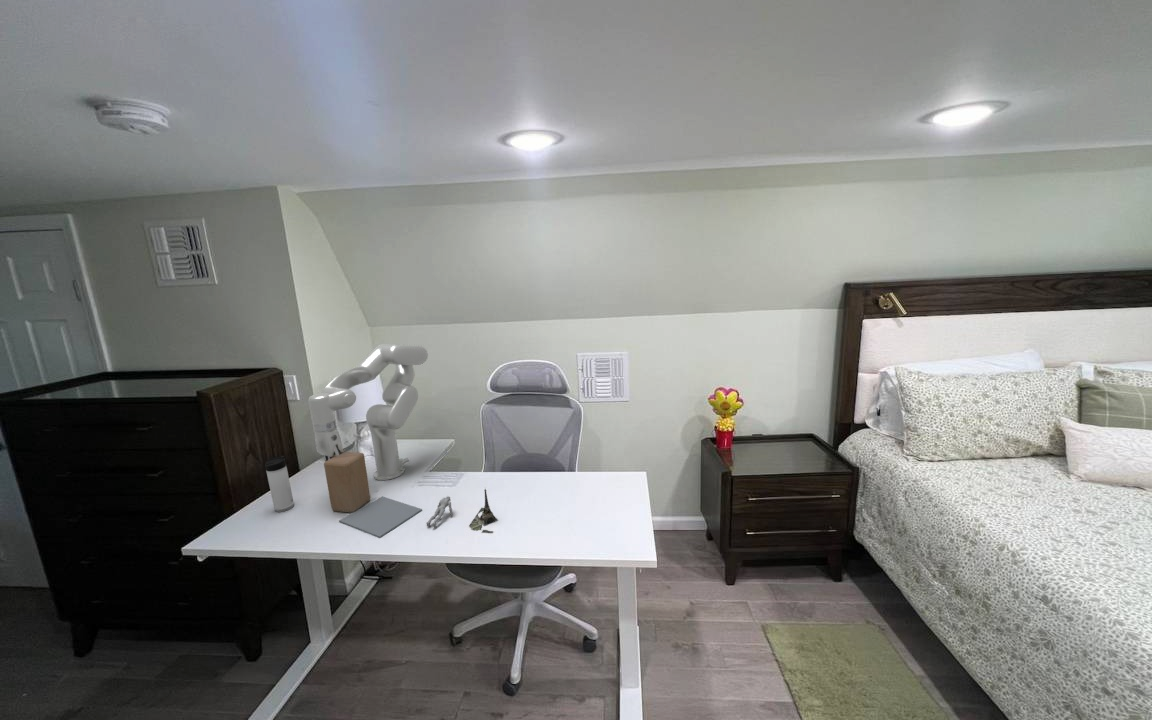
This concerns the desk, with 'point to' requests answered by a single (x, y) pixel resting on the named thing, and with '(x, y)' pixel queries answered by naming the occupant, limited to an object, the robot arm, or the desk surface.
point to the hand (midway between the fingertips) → (332, 470)
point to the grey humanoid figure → (440, 511)
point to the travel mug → (279, 484)
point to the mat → (380, 516)
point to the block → (347, 481)
